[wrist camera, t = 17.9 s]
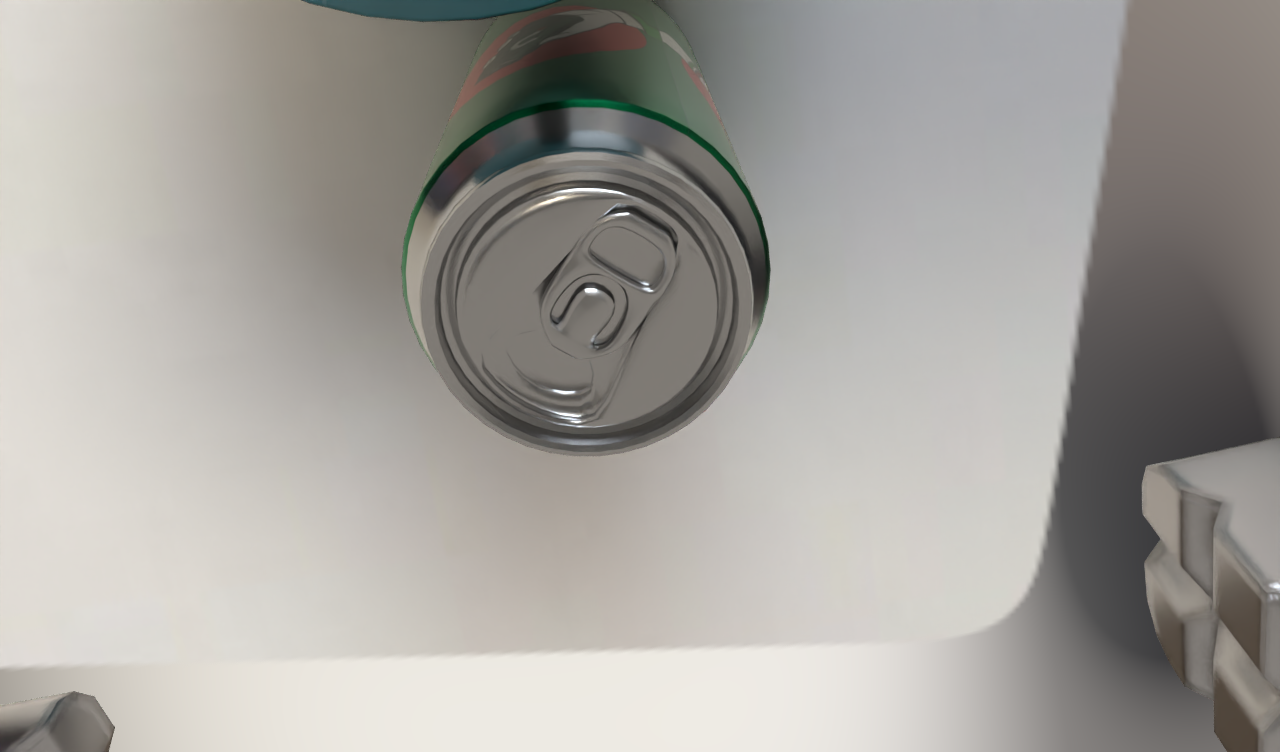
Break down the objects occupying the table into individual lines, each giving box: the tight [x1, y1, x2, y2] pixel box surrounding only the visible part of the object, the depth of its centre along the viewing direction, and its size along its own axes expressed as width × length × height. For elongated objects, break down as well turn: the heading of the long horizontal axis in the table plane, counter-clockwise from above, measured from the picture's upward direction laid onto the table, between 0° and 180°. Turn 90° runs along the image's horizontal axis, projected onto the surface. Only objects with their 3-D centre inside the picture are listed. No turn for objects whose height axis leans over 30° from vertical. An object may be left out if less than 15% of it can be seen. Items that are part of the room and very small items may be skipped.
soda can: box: [401, 0, 771, 456], centre depth 20 cm, size 5×5×12 cm
